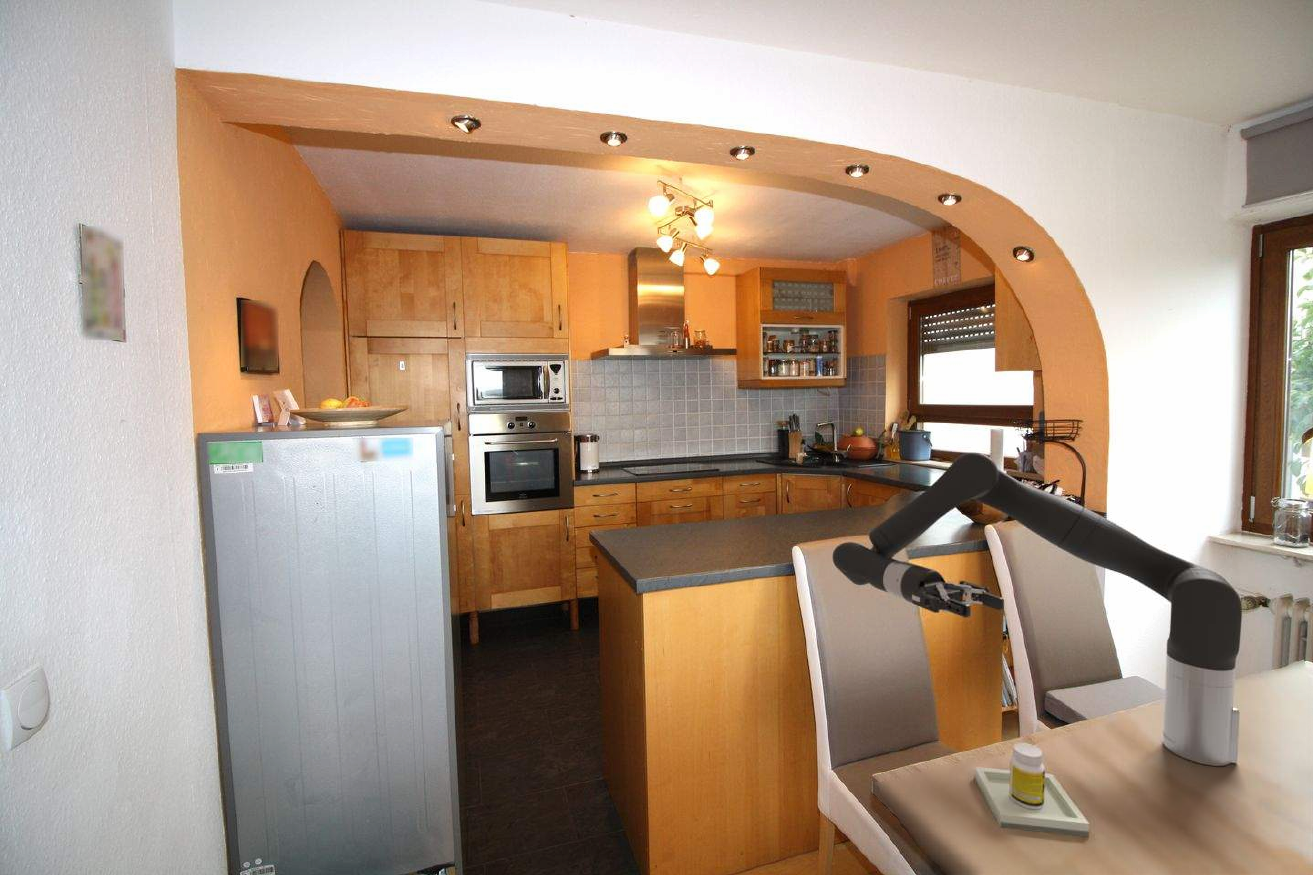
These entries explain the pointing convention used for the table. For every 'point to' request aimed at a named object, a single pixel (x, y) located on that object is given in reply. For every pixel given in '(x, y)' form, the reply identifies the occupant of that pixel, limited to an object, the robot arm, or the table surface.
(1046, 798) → the tray
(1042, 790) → the supplement bottle
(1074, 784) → the table surface
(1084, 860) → the table surface
